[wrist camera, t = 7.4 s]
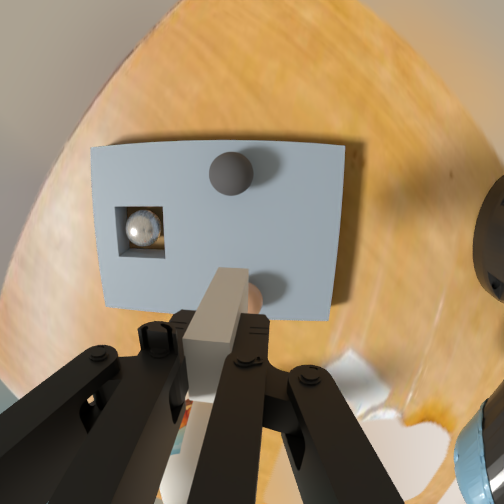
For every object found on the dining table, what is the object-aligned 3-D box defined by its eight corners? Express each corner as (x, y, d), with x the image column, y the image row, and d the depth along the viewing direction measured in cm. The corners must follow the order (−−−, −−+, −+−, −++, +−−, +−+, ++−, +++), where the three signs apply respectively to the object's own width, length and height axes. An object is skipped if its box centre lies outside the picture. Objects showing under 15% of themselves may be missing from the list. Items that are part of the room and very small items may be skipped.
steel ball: (154, 213, 25) (118, 213, 25) (156, 251, 26) (121, 250, 26) (165, 206, 28) (132, 206, 28) (166, 241, 29) (134, 240, 29)
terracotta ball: (264, 276, 26) (263, 292, 23) (262, 310, 27) (261, 329, 24) (225, 274, 27) (219, 290, 24) (225, 308, 28) (220, 327, 24)
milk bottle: (218, 368, 33) (181, 537, 14) (260, 408, 34) (251, 563, 15) (170, 393, 35) (118, 536, 16) (212, 429, 36) (185, 565, 17)
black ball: (255, 151, 23) (252, 152, 20) (253, 193, 24) (251, 199, 21) (213, 151, 23) (205, 151, 20) (212, 192, 24) (204, 198, 21)
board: (338, 146, 25) (345, 145, 23) (324, 307, 30) (328, 320, 27) (104, 146, 26) (90, 147, 24) (116, 295, 31) (105, 306, 28)
